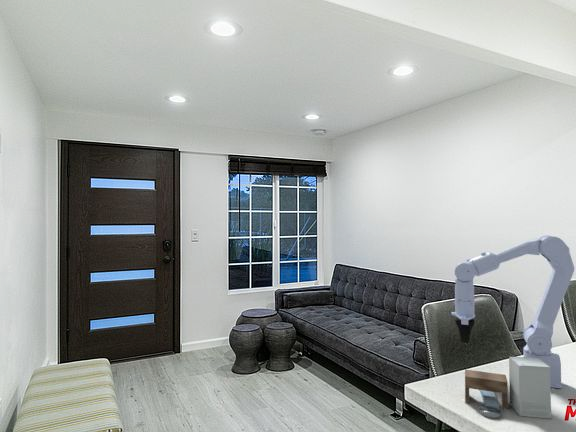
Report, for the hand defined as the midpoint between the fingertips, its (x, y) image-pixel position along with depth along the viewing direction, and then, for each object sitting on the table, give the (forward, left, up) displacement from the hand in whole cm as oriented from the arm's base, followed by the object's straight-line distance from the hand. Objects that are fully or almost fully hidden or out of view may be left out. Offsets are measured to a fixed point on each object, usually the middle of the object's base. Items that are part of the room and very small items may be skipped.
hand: (464, 342), depth 130 cm
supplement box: (-15, +23, -10) cm, 29 cm away
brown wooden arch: (-5, +22, -9) cm, 24 cm away
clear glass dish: (-6, +29, -10) cm, 31 cm away
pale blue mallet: (-6, +19, -9) cm, 22 cm away
